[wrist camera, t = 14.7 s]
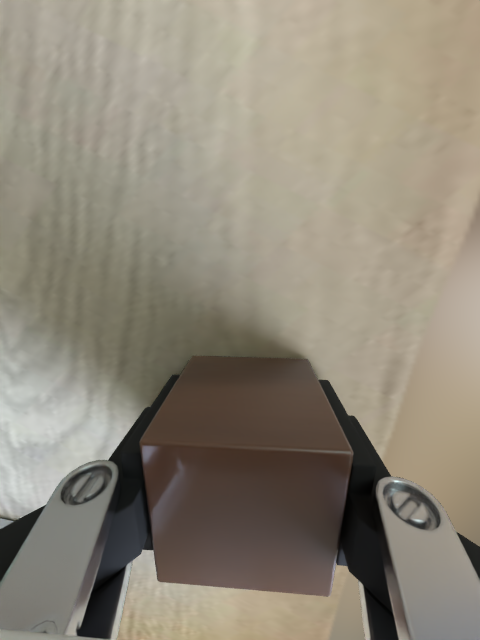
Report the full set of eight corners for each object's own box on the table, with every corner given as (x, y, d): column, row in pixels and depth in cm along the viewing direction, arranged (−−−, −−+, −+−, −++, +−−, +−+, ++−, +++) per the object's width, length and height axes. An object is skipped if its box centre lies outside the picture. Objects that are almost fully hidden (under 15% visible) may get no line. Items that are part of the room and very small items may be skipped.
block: (191, 354, 9) (136, 441, 5) (308, 358, 9) (356, 453, 5) (196, 448, 11) (156, 583, 6) (300, 454, 10) (332, 599, 6)
